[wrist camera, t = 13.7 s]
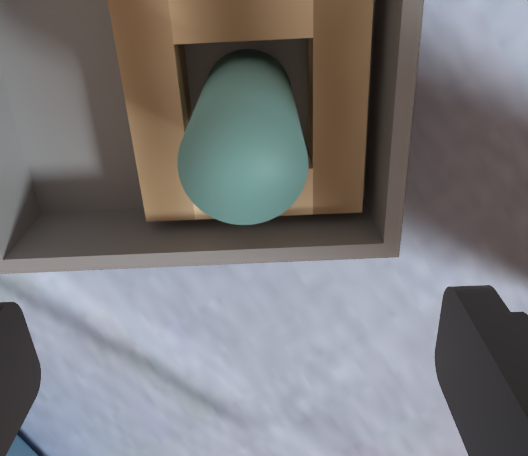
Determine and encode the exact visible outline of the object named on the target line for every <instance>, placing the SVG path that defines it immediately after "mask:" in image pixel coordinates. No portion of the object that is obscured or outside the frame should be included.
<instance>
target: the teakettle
mask: <svg viewBox="0 0 528 456" xmlns="http://www.w3.org/2000/svg"><path fill="white" fill-rule="evenodd" d="M6 456H38V455H37V454H36V453H35V452H34V451H33V450H32V449H31V448H30V447H29V446H28V445H27V444H26V443H25V442H24V441H23V440H22V439H21V438H20V437H19V436H18V435H16V437H15V439H14V441H13V443H12V445H11V447H10V449H9V451H8V453H7V455H6Z"/></svg>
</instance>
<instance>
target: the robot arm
mask: <svg viewBox="0 0 528 456" xmlns="http://www.w3.org/2000/svg"><path fill="white" fill-rule="evenodd" d="M435 366H436V373H437V378H438V381H439V384H440V387H441V389H442V392H443V394H444V397H445V399H446V402H447V404H448V406H449V409H450V411H451V414H452V416H453V419H454V421H455V424H456V426H457V428H458V431H459V433H460V436H461V438H462V441H463V443H464V445H465V448H466V450H467V453H468V455H469V456H528V315H527V314H526V313H524V312H510V311H509V309H508V308H507V306H506V305H505V303H504V302H503V301H502V299H501V298H500V296H499V295H498V293H497V292H496V290H495V289H494V288H493V287H492V286H490V285H485V286H458V287H447V288H446V290H445V292H444V295H443V301H442V307H441V314H440V321H439V328H438V335H437V341H436V348H435ZM40 381H41V368H40V363H39V360H38V357H37V354H36V351H35V348H34V345H33V342H32V339H31V336H30V333H29V330H28V327H27V324H26V321H25V318H24V315H23V312H22V310H21V308H20V306H19V305H18V304H16V303H14V302H2V303H0V456H6V455H7V453H8V451H9V449H10V447H11V445H12V443H13V441H14V439H15V437H16V435H17V433H18V431H19V429H20V428H21V426H22V424H23V422H24V420H25V418H26V416H27V414H28V412H29V410H30V408H31V406H32V404H33V402H34V400H35V399H36V396H37V394H38V391H39V387H40Z"/></svg>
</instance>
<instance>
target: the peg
mask: <svg viewBox="0 0 528 456" xmlns="http://www.w3.org/2000/svg"><path fill="white" fill-rule="evenodd" d="M177 167H178V174H179V179H180V181H181V184H182V187H183V189H184V191H185V193H186V194H187V196H188V197H189V199H190V200H191V201H192V202H193V203H194V204H195V205H196V206H197V207H198V208H199V209H200V210H201V211H203V212H204V213H206V214H207V215H209V216H210V217H212V218H214V219H217V220H219V221H222V222H225V223H229V224H236V225H252V224H258V223H263V222H266V221H269V220H271V219H273V218H275V217H277V216H279V215H280V214H282V213H283V212H285V211H286V210H287V209H288V208H290V207H291V205H292V204H293V203H294V202H295V201H296V200H297V198H298V197H299V195H300V194H301V192H302V190H303V188H304V185H305V183H306V179H307V175H308V155H307V150H306V146H305V142H304V137H303V133H302V129H301V125H300V121H299V117H298V113H297V108H296V104H295V100H294V96H293V92H292V88H291V84H290V80H289V77H288V75H287V73H286V71H285V69H284V68H283V66H282V65H281V64H280V63H279V62H278V61H277V60H276V59H275V58H274V57H272V56H271V55H269V54H267V53H265V52H263V51H259V50H255V49H240V50H236V51H233V52H231V53H228V54H227V55H225V56H223V57H222V58H221V59H219V60H218V61H217V62H216V64H215V65H214V66H213V67H212V69H211V71H210V73H209V75H208V77H207V80H206V82H205V85H204V87H203V89H202V92H201V94H200V97H199V99H198V102H197V104H196V107H195V109H194V112H193V114H192V116H191V119H190V121H189V124H188V126H187V129H186V131H185V134H184V136H183V139H182V141H181V144H180V147H179V151H178V159H177Z"/></svg>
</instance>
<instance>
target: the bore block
mask: <svg viewBox="0 0 528 456" xmlns="http://www.w3.org/2000/svg"><path fill="white" fill-rule="evenodd" d="M373 3H374V0H108V6H109V11H110V17H111V23H112V29H113V34H114V40H115V46H116V51H117V57H118V63H119V69H120V74H121V80H122V86H123V91H124V97H125V103H126V109H127V114H128V120H129V126H130V131H131V137H132V143H133V148H134V154H135V160H136V166H137V171H138V177H139V183H140V188H141V194H142V200H143V206H144V211H145V217H146V222H152V221H175V220H198V219H214V218H212V217H210V216H209V215H207V214H206V213H204V212H203V211H201V210H200V209H199V208H198V207H197V206H196V205H195V204H194V203H193V202H192V201H191V200H190V199H189V197H188V196H187V194H186V193H185V191H184V189H183V187H182V184H181V181H180V179H179V174H178V167H177V159H178V151H179V147H180V144H181V141H182V139H183V136H184V134H185V131H186V129H187V126H188V124H189V121H190V119H191V116H192V111H191V102H190V93H189V84H188V76H187V67H186V58H185V49H184V44H194V43H215V42H236V41H256V40H277V39H298V38H307V70H308V148H306V150H307V155H308V175H307V179H306V183H305V185H304V188H303V190H302V192H301V194H300V195H299V197H298V198H297V200H296V201H295V202H294V203H293V204H292V205H291V207H290V208H288V209H287V210H286V211H285V212H283V213H282V214H280V215H279V216H290V215H313V214H336V213H359V212H362V206H363V188H364V169H365V151H366V132H367V114H368V95H369V77H370V58H371V40H372V21H373Z"/></svg>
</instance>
